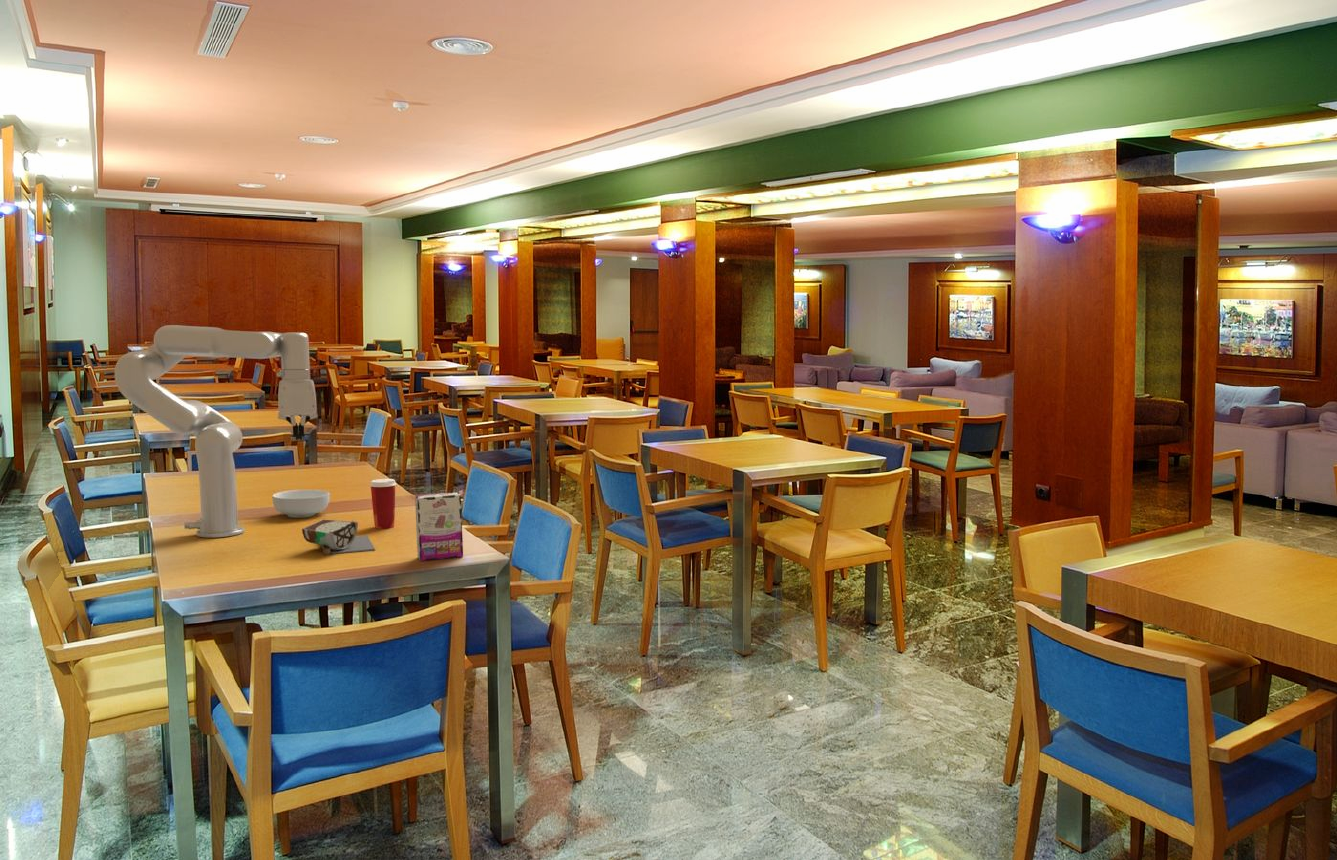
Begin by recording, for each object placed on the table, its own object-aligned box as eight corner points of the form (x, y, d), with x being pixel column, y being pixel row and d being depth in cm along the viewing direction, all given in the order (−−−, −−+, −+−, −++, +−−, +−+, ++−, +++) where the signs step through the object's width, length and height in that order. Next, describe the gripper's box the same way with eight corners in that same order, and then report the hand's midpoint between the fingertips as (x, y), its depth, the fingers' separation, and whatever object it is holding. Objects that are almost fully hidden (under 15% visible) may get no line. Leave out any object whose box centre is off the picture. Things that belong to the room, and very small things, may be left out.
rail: (324, 554, 255) (324, 549, 255) (319, 541, 271) (319, 535, 271) (330, 554, 255) (330, 548, 255) (325, 540, 272) (325, 535, 272)
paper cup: (403, 525, 292) (401, 479, 291) (385, 530, 285) (384, 483, 284) (382, 523, 296) (381, 477, 294) (365, 528, 289) (363, 481, 287)
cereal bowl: (284, 523, 297) (283, 500, 296) (265, 515, 309) (264, 493, 309) (338, 515, 308) (338, 493, 307) (318, 508, 320) (317, 487, 320)
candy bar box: (459, 553, 256) (458, 491, 254) (463, 557, 252) (462, 494, 250) (416, 557, 252) (414, 494, 250) (419, 561, 247) (417, 497, 245)
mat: (331, 554, 255) (331, 552, 255) (326, 540, 272) (326, 539, 272) (374, 550, 260) (374, 548, 260) (367, 537, 276) (367, 535, 276)
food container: (299, 552, 256) (332, 557, 254) (298, 530, 255) (332, 534, 252) (327, 539, 268) (359, 543, 265) (326, 517, 267) (358, 521, 264)
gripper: (268, 376, 273) (271, 441, 275) (324, 375, 279) (327, 439, 281) (267, 375, 280) (270, 439, 282) (322, 374, 286) (325, 436, 288)
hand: (298, 439), depth 282 cm, fingers closed
